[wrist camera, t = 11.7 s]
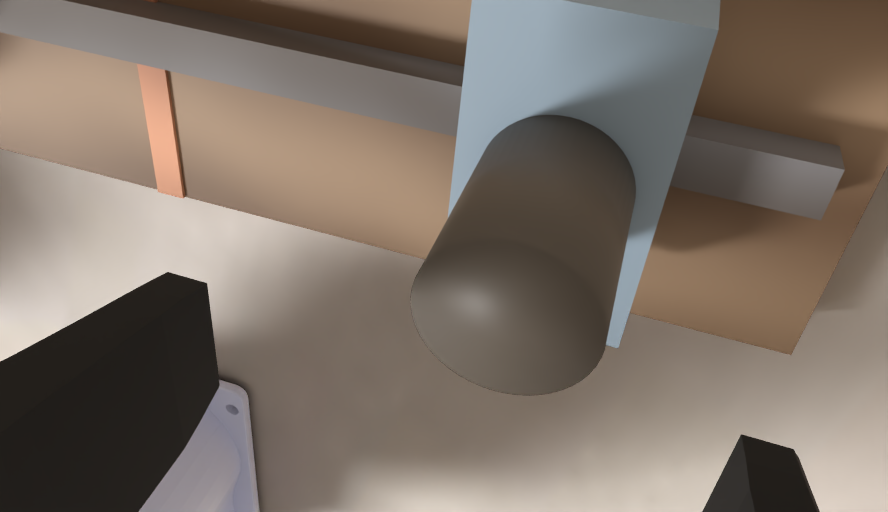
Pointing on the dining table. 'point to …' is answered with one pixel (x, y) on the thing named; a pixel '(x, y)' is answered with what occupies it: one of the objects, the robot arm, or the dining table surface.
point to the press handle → (557, 182)
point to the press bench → (436, 122)
